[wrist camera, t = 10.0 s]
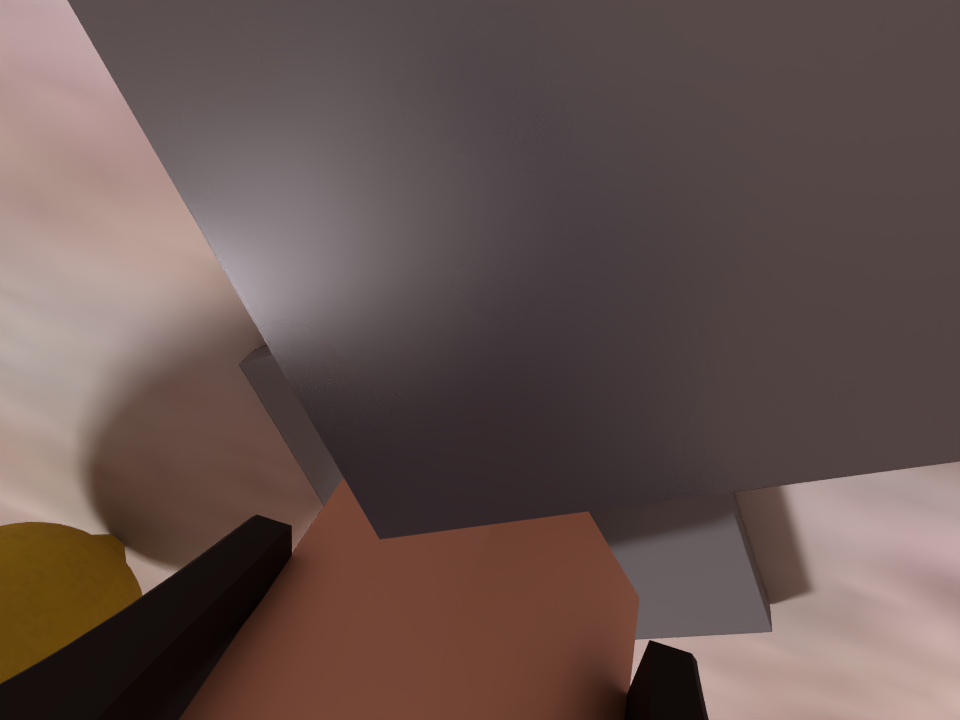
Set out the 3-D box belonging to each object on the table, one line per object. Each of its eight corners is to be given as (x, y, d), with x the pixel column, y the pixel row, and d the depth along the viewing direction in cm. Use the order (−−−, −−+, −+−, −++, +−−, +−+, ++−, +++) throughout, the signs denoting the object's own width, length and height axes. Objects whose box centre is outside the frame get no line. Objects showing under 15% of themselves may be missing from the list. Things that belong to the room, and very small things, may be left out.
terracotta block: (342, 479, 13) (45, 916, 7) (532, 417, 11) (340, 933, 5) (452, 631, 14) (275, 1106, 9) (639, 597, 12) (575, 1172, 7)
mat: (254, 348, 14) (239, 364, 14) (650, 233, 11) (647, 247, 10) (420, 631, 17) (412, 651, 17) (770, 607, 14) (772, 631, 14)
